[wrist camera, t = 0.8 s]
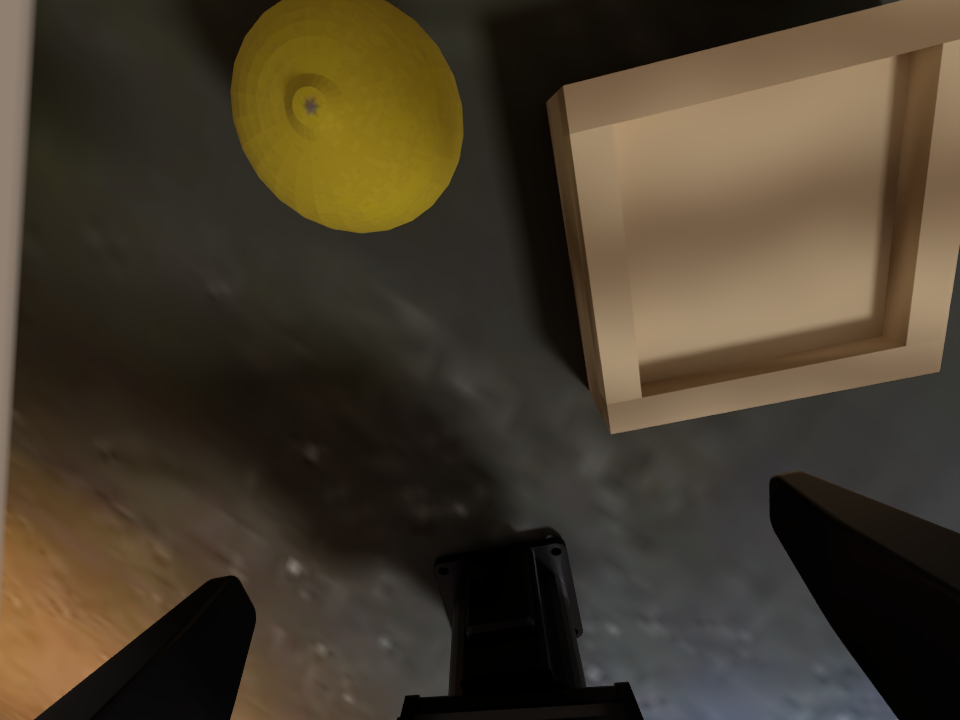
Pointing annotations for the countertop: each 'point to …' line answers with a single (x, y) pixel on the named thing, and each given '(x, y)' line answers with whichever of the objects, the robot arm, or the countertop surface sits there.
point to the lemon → (347, 112)
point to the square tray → (765, 214)
